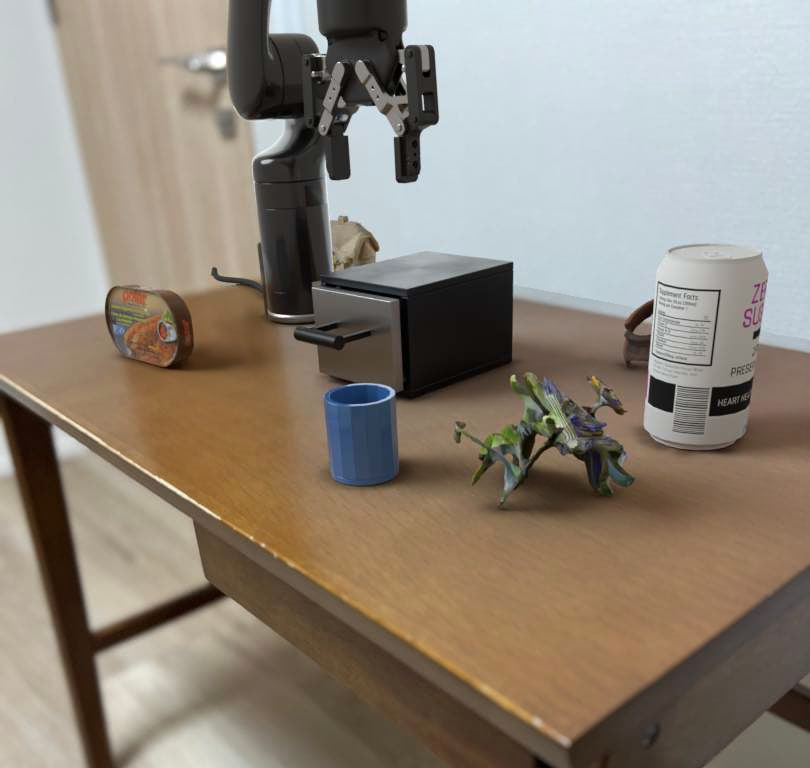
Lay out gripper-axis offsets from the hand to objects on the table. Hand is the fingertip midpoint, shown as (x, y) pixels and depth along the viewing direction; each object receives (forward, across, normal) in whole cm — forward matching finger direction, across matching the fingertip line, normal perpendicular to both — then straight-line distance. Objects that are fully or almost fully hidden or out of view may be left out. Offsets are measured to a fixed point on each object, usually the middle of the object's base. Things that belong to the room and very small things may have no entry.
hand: (372, 181), depth 79 cm
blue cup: (+20, -13, +16) cm, 28 cm away
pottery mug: (+20, -19, -24) cm, 36 cm away
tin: (+20, +31, +7) cm, 37 cm away
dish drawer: (+19, +2, -3) cm, 19 cm away
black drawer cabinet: (+20, +2, -8) cm, 21 cm away
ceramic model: (+20, +42, -35) cm, 58 cm away
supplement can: (+20, -30, -6) cm, 37 cm away
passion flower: (+20, -27, +11) cm, 36 cm away
